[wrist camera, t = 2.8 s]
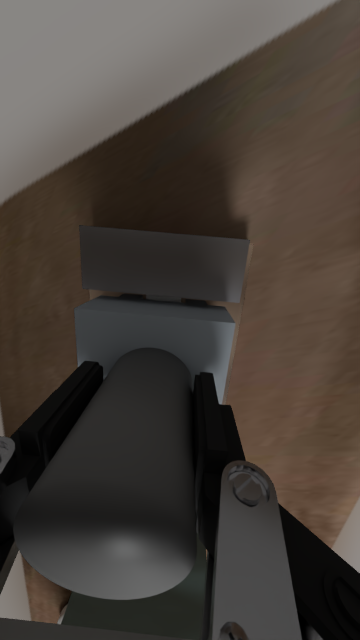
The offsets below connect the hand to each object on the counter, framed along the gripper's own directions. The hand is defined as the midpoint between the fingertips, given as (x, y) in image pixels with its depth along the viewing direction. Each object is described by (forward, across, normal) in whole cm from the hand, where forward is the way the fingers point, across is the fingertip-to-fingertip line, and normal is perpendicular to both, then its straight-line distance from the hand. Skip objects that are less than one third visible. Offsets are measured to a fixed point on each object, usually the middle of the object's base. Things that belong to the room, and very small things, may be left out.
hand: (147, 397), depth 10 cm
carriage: (+5, 0, 0) cm, 5 cm away
